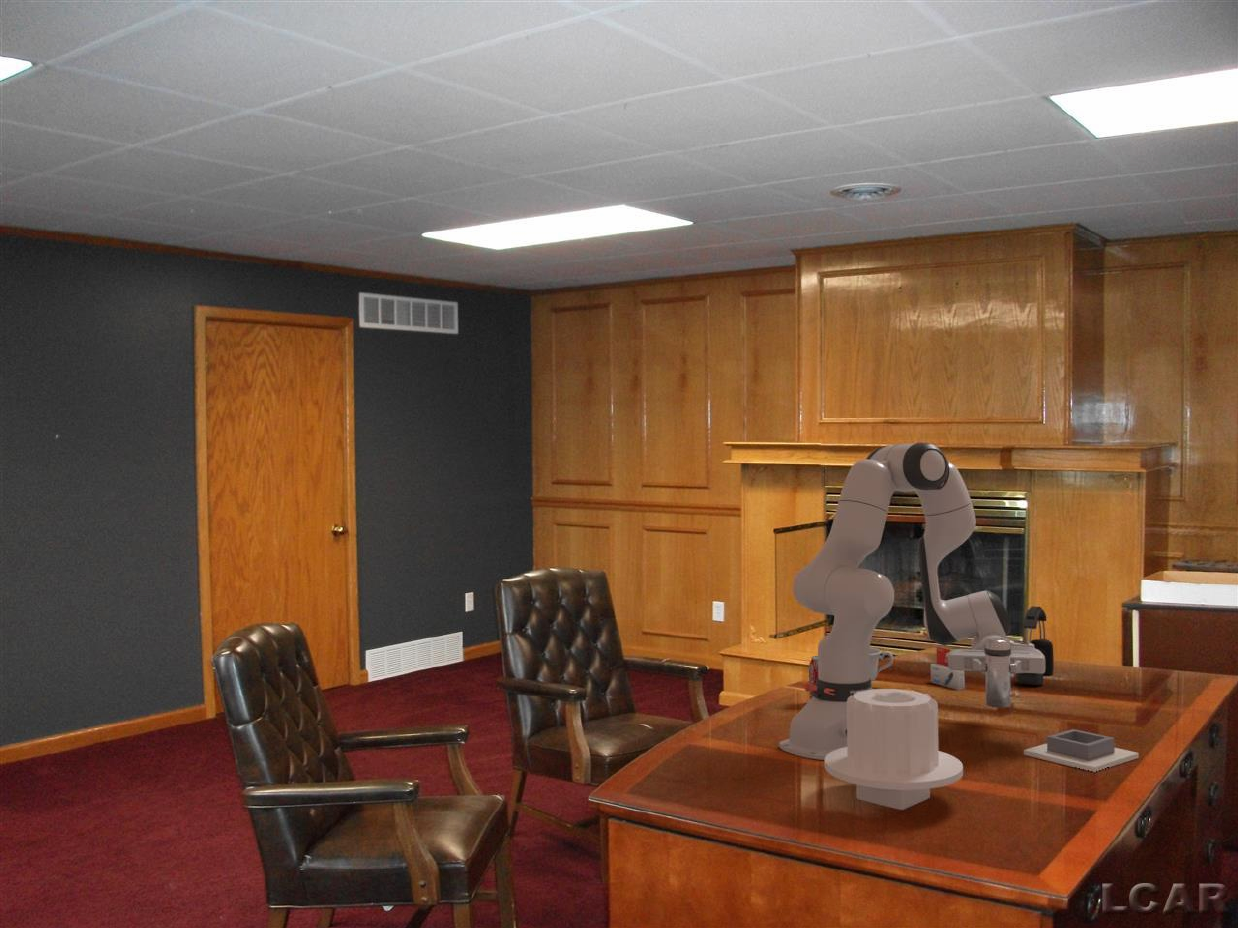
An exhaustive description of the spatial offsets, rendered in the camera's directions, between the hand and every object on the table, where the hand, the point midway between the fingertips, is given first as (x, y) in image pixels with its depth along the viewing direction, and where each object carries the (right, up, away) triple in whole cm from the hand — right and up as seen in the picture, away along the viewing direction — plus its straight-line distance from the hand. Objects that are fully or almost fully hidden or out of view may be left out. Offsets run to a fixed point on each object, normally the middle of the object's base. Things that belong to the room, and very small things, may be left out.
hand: (998, 668), depth 235 cm
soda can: (-29, -18, +44) cm, 55 cm away
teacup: (-14, -17, +63) cm, 67 cm away
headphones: (+34, -16, +69) cm, 78 cm away
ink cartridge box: (+8, -17, +62) cm, 65 cm away
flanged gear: (-30, -19, -30) cm, 46 cm away
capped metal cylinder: (0, -8, +1) cm, 8 cm away
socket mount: (+15, -17, -6) cm, 24 cm away
